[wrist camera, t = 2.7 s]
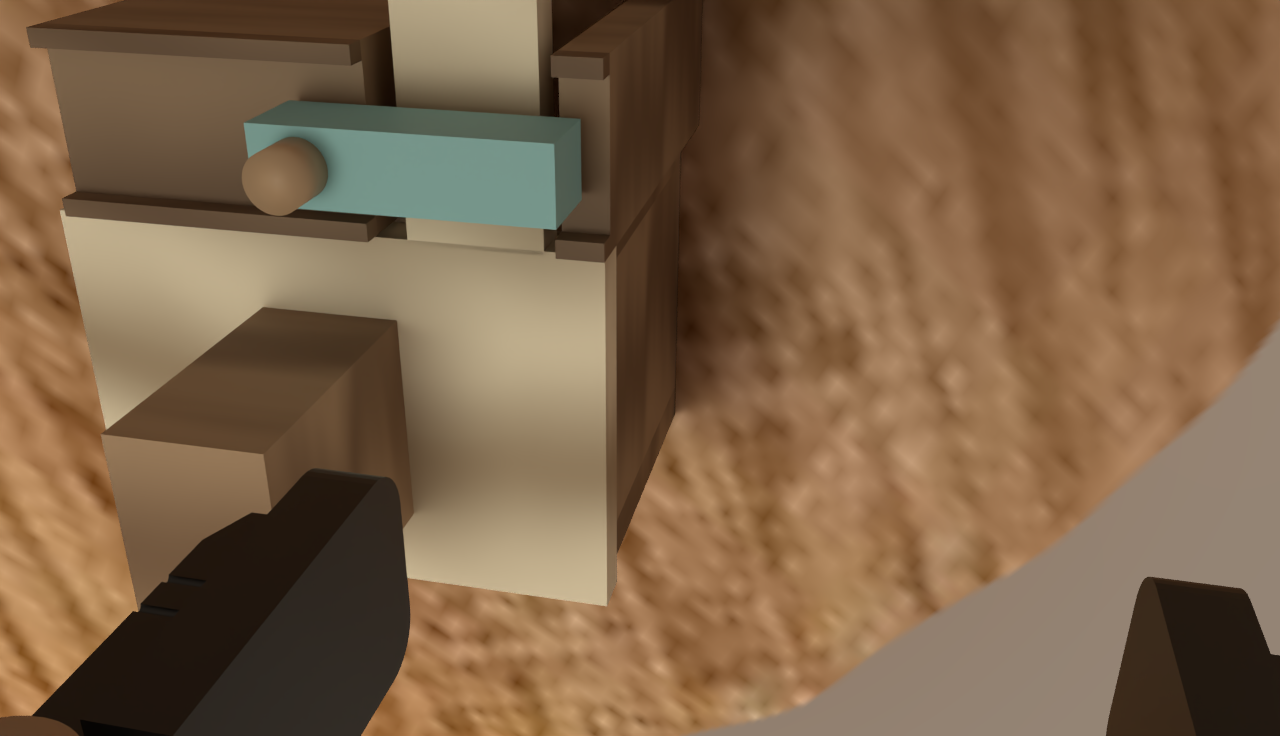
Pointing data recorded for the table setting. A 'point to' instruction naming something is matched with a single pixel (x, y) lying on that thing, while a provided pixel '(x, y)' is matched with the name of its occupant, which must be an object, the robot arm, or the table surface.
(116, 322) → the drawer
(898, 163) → the table surface
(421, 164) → the teal rectangular piece
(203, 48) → the mini nightstand
